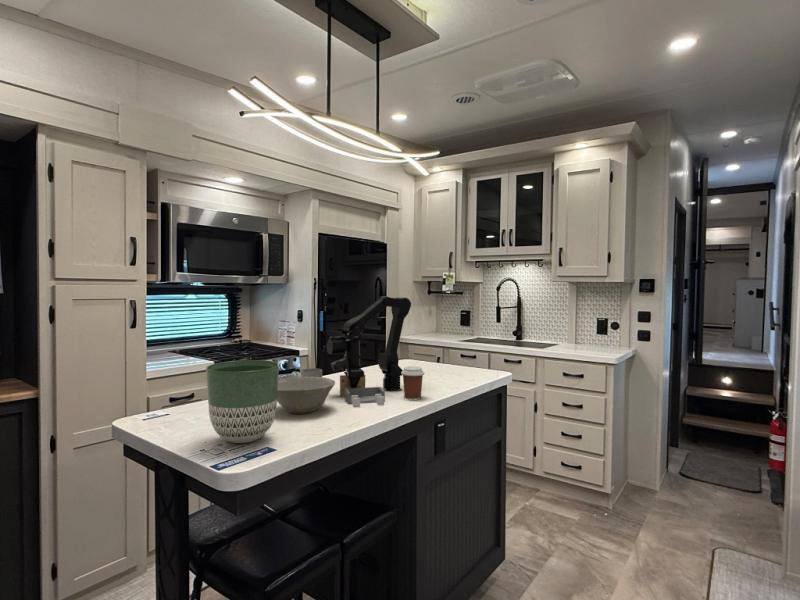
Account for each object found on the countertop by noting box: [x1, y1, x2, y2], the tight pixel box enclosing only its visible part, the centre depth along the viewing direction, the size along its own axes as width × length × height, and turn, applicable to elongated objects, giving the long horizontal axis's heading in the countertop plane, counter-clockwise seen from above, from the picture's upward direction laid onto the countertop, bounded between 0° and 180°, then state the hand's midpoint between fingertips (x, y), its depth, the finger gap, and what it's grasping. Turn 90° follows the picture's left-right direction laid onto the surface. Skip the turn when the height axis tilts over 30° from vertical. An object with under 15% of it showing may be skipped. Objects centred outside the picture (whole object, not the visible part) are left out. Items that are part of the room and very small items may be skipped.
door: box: [339, 373, 366, 397], centre depth 189 cm, size 10×3×8 cm, turn 105°
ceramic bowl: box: [277, 376, 336, 415], centre depth 165 cm, size 22×23×10 cm
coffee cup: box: [401, 365, 425, 401], centre depth 184 cm, size 9×9×12 cm
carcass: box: [344, 386, 386, 408], centre depth 178 cm, size 14×12×4 cm
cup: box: [300, 367, 323, 378], centre depth 189 cm, size 8×8×10 cm
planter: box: [205, 359, 280, 444], centre depth 133 cm, size 20×20×21 cm
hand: (352, 390), depth 189 cm, fingers open, 2 cm apart
